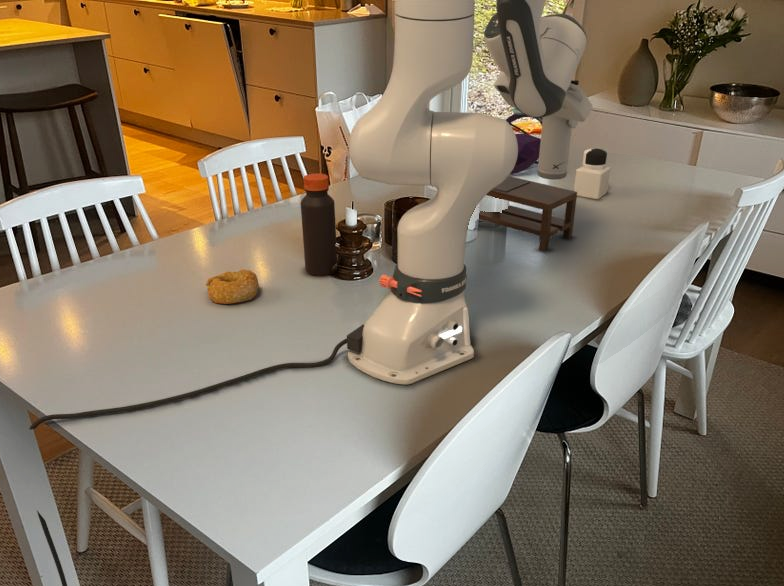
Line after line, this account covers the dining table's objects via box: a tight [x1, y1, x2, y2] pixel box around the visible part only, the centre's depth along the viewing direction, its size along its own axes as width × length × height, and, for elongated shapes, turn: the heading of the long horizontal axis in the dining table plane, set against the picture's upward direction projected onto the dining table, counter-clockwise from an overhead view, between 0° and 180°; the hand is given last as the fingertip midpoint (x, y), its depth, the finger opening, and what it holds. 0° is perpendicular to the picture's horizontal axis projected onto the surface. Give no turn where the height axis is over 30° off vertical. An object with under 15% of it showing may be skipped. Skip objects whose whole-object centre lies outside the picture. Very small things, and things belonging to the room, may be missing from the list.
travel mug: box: [537, 79, 580, 181], centre depth 158 cm, size 6×7×20 cm
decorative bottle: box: [505, 107, 542, 175], centre depth 220 cm, size 22×21×25 cm
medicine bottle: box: [573, 148, 611, 200], centre depth 200 cm, size 7×7×12 cm
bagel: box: [205, 268, 259, 305], centre depth 145 cm, size 10×11×5 cm
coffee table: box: [478, 175, 578, 253], centre depth 174 cm, size 12×22×11 cm, turn 50°
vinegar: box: [300, 172, 338, 277], centre depth 153 cm, size 7×7×20 cm
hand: (559, 122), depth 158 cm, fingers closed on travel mug, 6 cm apart
